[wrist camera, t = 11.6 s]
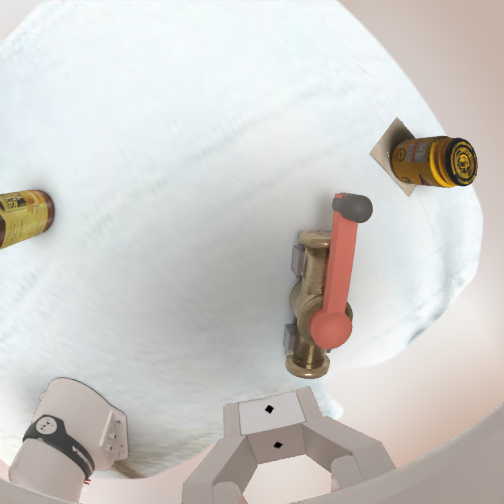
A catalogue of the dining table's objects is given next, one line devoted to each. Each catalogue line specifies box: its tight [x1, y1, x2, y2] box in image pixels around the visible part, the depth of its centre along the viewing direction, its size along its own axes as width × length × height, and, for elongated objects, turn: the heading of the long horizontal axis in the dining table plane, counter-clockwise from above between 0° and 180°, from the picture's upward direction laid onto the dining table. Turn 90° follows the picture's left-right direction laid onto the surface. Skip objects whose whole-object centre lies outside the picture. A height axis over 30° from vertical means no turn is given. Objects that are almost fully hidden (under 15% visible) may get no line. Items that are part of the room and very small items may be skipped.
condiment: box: [370, 118, 478, 196], centre depth 29 cm, size 7×8×12 cm
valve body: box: [283, 231, 353, 379], centre depth 35 cm, size 18×6×7 cm, turn 177°
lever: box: [309, 193, 373, 349], centre depth 28 cm, size 4×16×4 cm, turn 177°
